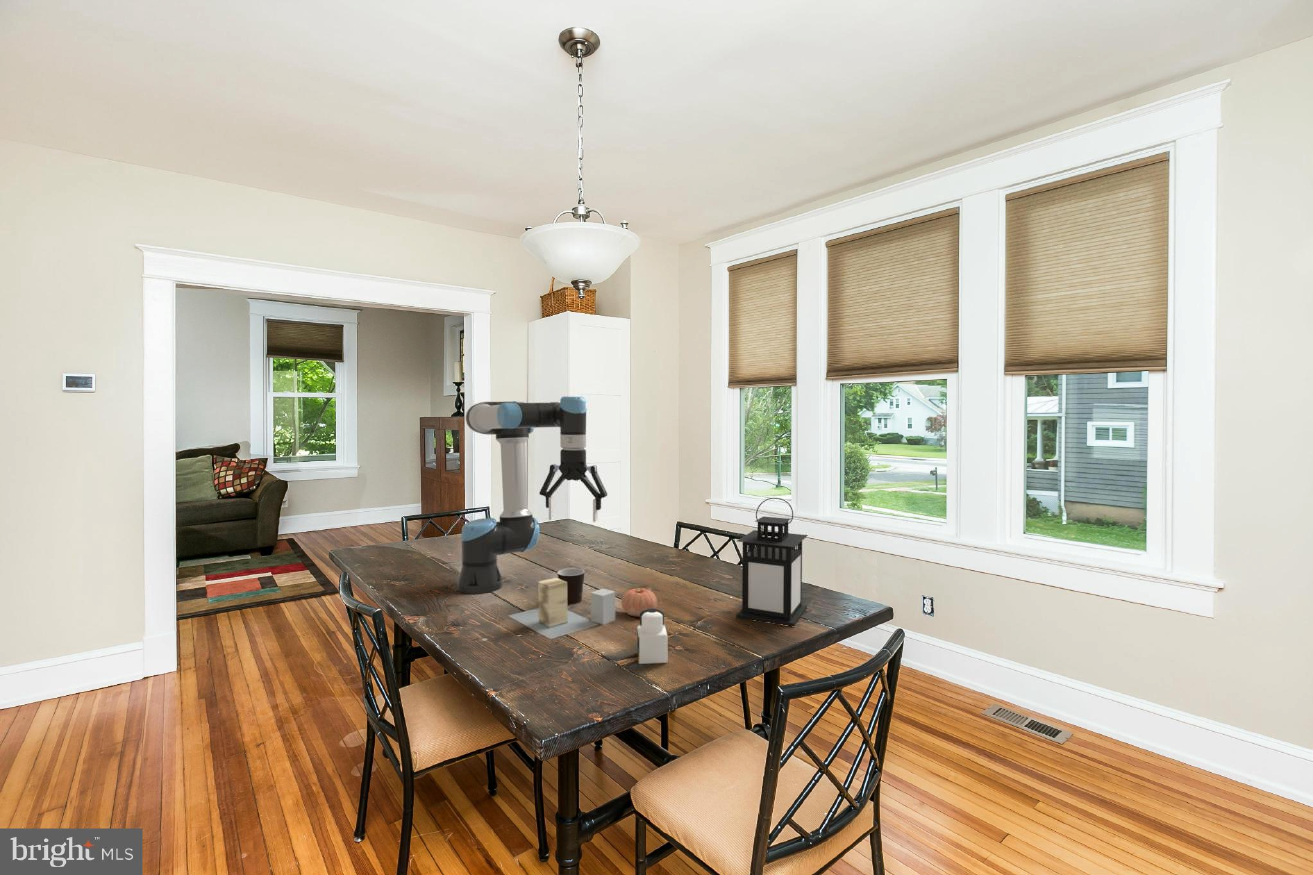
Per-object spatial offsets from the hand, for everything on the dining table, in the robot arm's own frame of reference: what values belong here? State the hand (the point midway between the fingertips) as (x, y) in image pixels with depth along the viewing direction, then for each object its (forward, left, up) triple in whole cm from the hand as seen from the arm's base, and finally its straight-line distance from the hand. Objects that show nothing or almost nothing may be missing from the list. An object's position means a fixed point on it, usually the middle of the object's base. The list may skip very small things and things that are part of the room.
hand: (573, 519), depth 181 cm
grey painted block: (+10, +4, -29) cm, 31 cm away
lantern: (+38, +47, -30) cm, 67 cm away
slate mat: (0, -7, -29) cm, 30 cm away
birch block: (+2, -8, -29) cm, 30 cm away
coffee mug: (-12, +8, -30) cm, 33 cm away
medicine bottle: (+38, -2, -30) cm, 48 cm away
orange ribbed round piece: (+12, +16, -30) cm, 35 cm away
